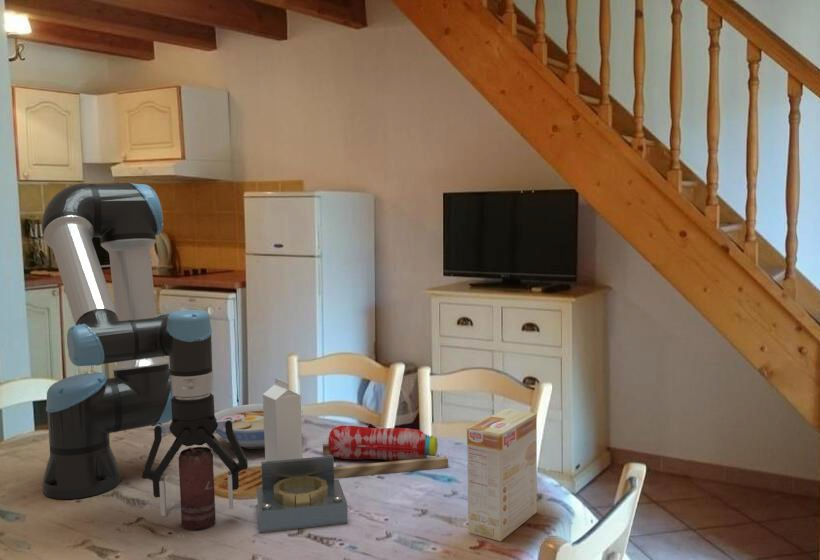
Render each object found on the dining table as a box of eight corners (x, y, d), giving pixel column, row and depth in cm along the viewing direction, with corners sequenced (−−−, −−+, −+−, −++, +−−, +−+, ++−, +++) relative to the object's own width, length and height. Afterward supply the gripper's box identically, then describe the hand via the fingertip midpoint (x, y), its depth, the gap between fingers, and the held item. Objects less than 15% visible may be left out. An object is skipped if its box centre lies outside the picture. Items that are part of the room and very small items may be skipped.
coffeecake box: (505, 504, 147) (505, 407, 145) (538, 512, 143) (538, 412, 140) (465, 532, 134) (465, 426, 132) (501, 542, 130) (500, 433, 128)
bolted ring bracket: (259, 532, 136) (257, 484, 135) (257, 506, 147) (256, 462, 146) (347, 523, 139) (346, 476, 138) (338, 498, 151) (337, 455, 150)
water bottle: (340, 419, 183) (441, 424, 178) (339, 453, 182) (441, 458, 178) (326, 426, 171) (434, 431, 167) (325, 461, 170) (434, 467, 166)
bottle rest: (331, 478, 162) (331, 469, 161) (322, 452, 179) (322, 444, 178) (448, 467, 167) (448, 458, 167) (428, 443, 184) (428, 435, 184)
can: (202, 514, 144) (198, 443, 143) (222, 522, 140) (219, 449, 139) (174, 524, 140) (170, 451, 138) (194, 533, 136) (191, 458, 134)
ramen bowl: (226, 429, 198) (224, 399, 197) (312, 429, 197) (311, 398, 196) (195, 462, 173) (193, 427, 172) (293, 462, 172) (292, 427, 171)
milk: (278, 488, 157) (274, 385, 154) (265, 479, 162) (261, 379, 159) (304, 480, 161) (300, 380, 158) (290, 473, 165) (287, 375, 163)
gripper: (120, 405, 131) (127, 524, 133) (259, 395, 136) (263, 510, 139) (126, 394, 138) (133, 508, 141) (258, 385, 144) (262, 495, 146)
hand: (197, 509), depth 140 cm, fingers open, 11 cm apart
